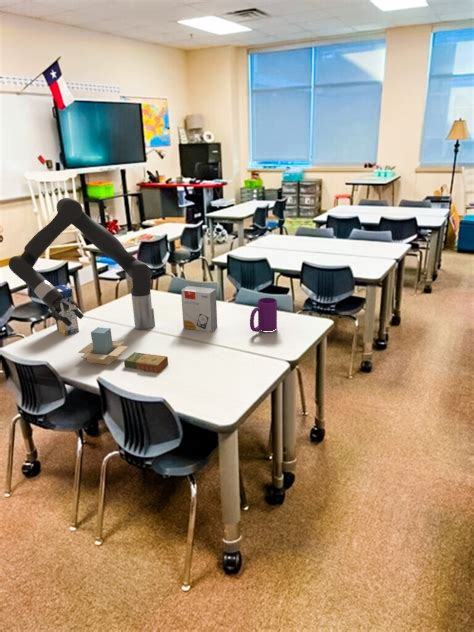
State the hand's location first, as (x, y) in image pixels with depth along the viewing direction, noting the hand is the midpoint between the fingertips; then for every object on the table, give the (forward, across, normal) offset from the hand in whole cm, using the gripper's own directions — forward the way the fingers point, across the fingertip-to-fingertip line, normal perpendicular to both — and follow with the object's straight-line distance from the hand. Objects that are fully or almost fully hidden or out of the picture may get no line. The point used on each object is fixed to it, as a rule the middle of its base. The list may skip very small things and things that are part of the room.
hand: (76, 321), depth 199 cm
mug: (+62, +44, -38) cm, 85 cm away
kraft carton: (+20, 0, +4) cm, 20 cm away
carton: (+35, -2, -10) cm, 36 cm away
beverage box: (-5, +25, +29) cm, 39 cm away
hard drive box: (+40, +42, -16) cm, 60 cm away
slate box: (+19, 0, +4) cm, 20 cm away
